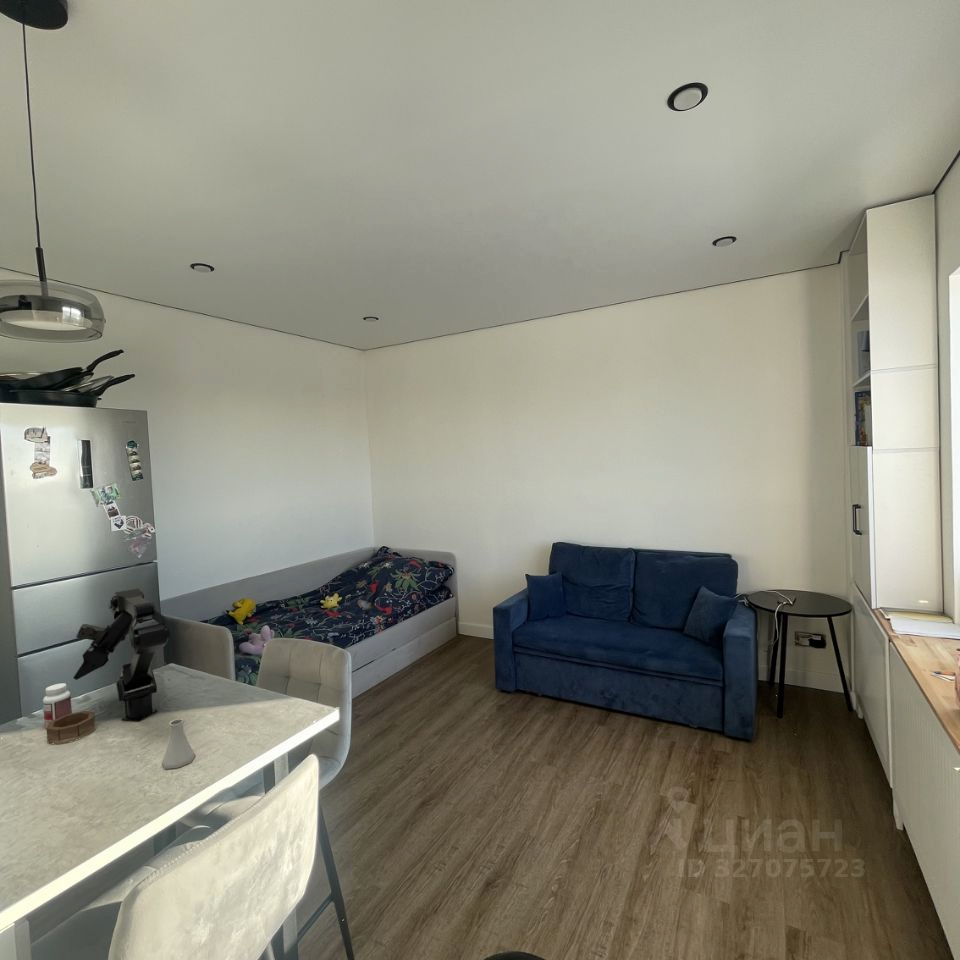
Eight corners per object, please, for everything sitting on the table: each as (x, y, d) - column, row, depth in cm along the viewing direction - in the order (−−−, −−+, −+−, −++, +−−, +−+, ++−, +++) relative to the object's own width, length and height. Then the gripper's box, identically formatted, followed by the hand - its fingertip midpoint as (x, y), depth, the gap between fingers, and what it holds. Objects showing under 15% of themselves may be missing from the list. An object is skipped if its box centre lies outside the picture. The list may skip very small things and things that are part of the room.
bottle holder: (104, 726, 146) (104, 712, 146) (67, 746, 136) (67, 731, 136) (76, 723, 148) (75, 709, 148) (37, 742, 138) (36, 728, 138)
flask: (160, 773, 122) (157, 732, 121) (162, 758, 128) (160, 719, 128) (195, 764, 125) (192, 723, 125) (195, 750, 131) (193, 711, 131)
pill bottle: (75, 716, 152) (72, 680, 152) (69, 726, 147) (66, 688, 146) (48, 722, 150) (46, 684, 149) (41, 731, 144) (38, 693, 144)
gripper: (100, 607, 160) (59, 650, 155) (89, 620, 144) (42, 669, 139) (133, 627, 164) (93, 670, 159) (126, 641, 148) (81, 690, 143)
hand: (78, 674), depth 150 cm, fingers open, 9 cm apart
